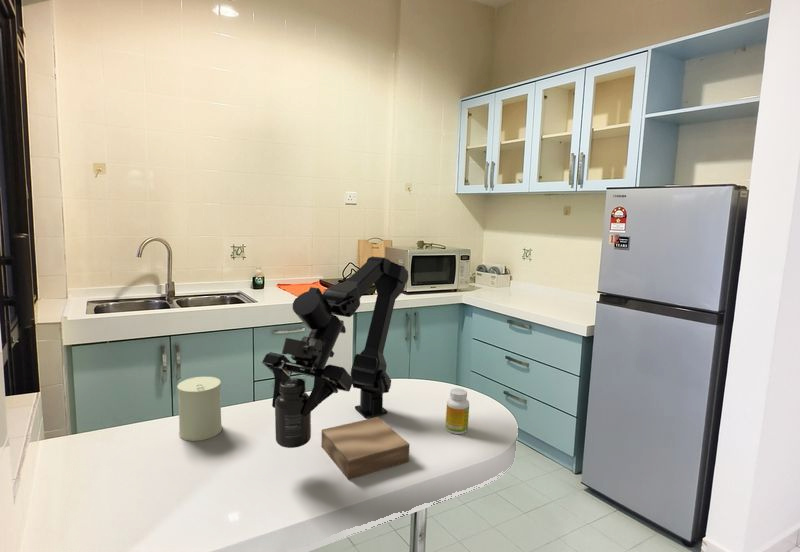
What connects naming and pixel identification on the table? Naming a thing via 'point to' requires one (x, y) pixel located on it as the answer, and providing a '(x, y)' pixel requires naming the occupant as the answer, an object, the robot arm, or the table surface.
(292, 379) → the supplement bottle
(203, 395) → the can
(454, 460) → the table surface
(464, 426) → the supplement bottle
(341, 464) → the block
